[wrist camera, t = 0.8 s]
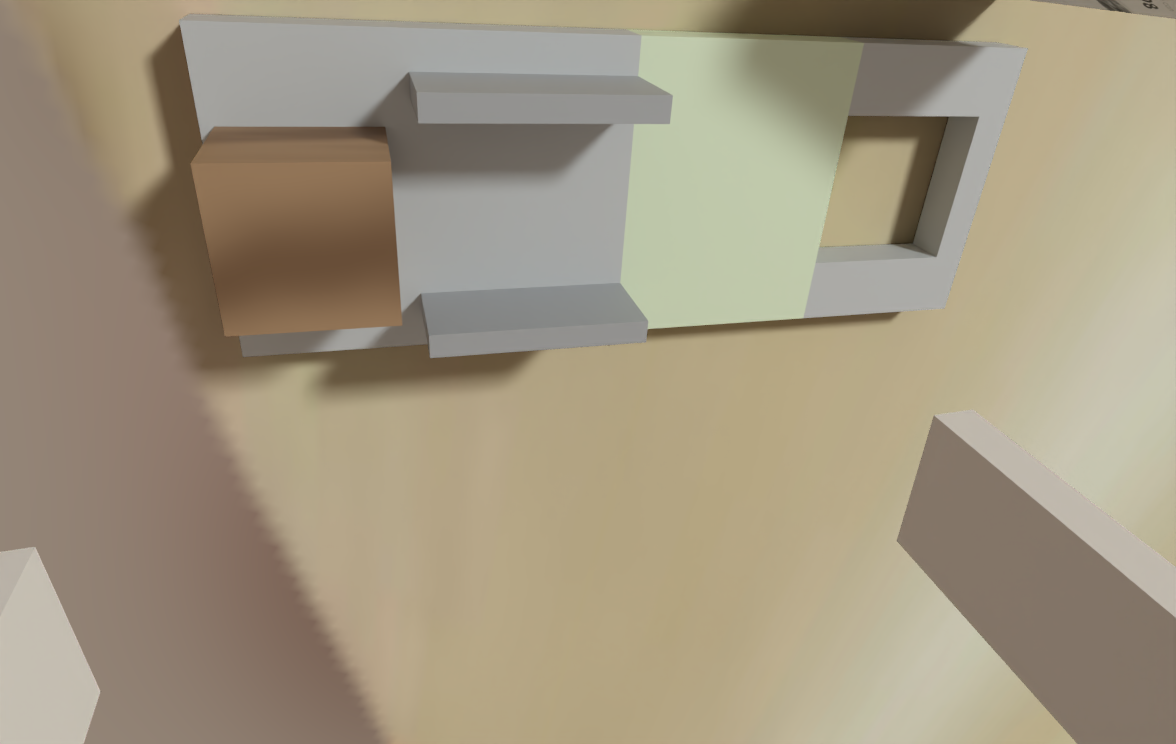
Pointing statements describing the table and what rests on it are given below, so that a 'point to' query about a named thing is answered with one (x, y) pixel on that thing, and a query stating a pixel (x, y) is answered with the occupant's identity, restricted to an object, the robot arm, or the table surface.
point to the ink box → (1126, 6)
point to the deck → (612, 168)
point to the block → (299, 228)
